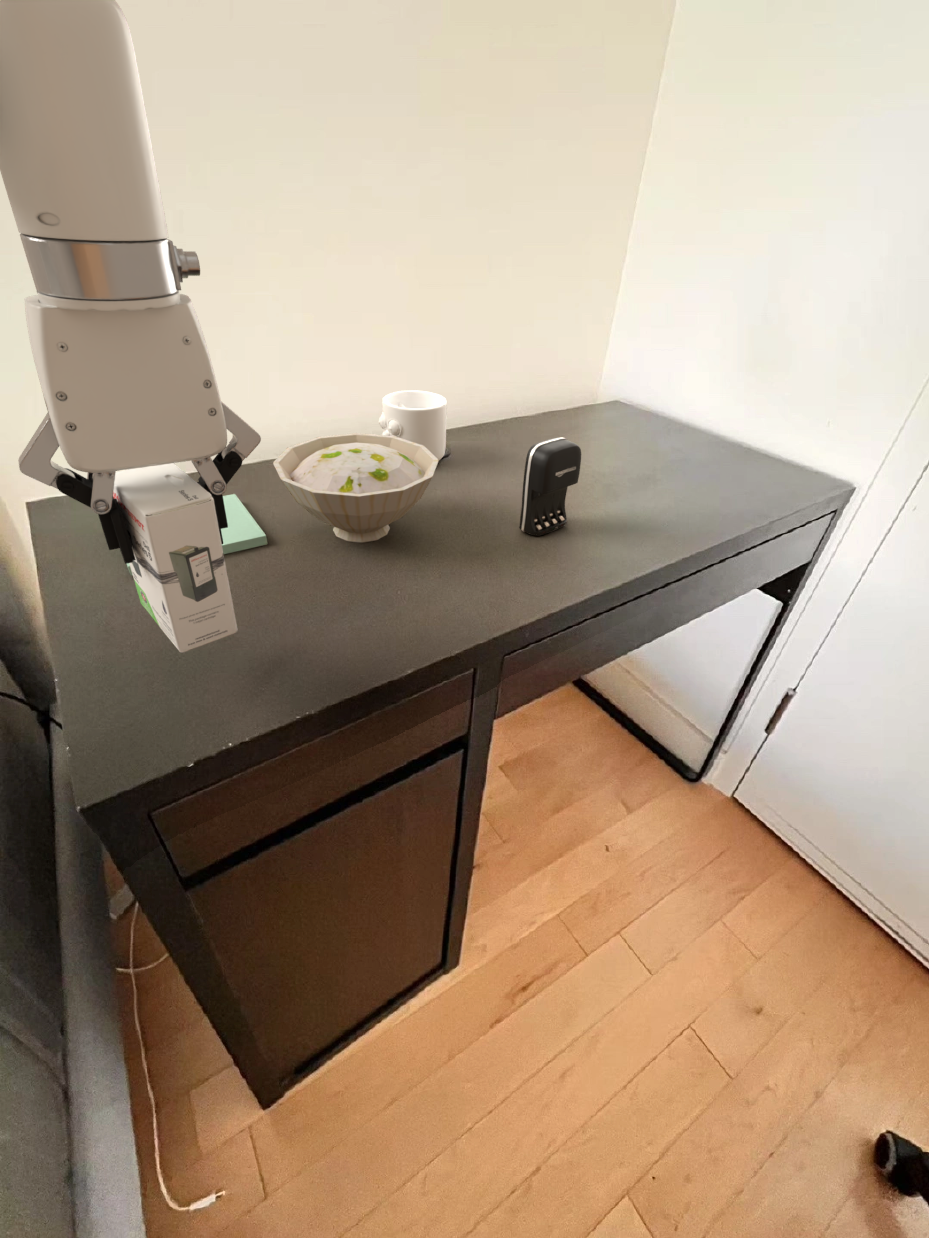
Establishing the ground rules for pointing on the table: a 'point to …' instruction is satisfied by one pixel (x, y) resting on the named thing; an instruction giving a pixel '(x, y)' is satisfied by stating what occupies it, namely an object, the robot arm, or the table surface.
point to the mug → (416, 418)
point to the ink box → (176, 554)
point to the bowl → (357, 480)
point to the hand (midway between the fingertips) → (171, 543)
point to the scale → (237, 528)
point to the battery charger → (548, 484)
